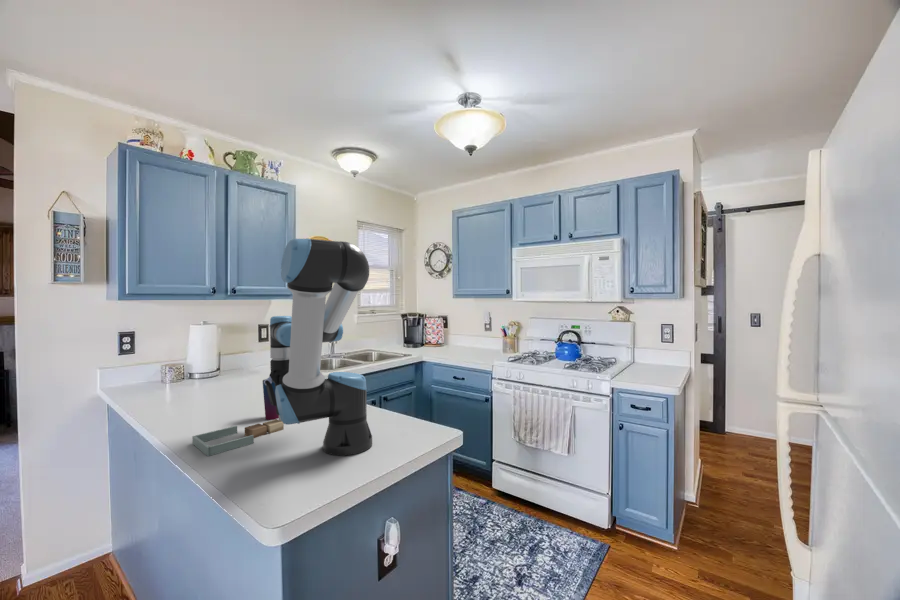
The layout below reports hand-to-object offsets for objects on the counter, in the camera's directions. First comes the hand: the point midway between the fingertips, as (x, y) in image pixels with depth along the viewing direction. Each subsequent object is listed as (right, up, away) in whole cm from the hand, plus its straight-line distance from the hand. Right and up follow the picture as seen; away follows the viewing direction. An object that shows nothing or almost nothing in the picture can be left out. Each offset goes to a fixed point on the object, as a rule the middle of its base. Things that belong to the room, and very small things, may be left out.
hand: (282, 422), depth 139 cm
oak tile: (-2, -2, -3) cm, 4 cm away
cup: (-9, -2, +11) cm, 14 cm away
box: (-13, -2, -15) cm, 19 cm away
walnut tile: (-6, -2, -7) cm, 10 cm away
